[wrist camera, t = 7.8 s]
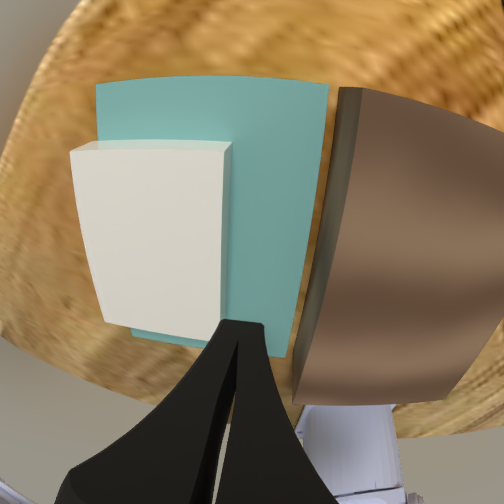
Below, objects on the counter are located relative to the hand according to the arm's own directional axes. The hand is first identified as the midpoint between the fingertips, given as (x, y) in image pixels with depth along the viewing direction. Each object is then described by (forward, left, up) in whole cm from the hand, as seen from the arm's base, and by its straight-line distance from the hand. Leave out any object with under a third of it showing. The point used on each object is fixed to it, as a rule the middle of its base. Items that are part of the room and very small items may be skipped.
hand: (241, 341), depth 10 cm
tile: (0, +5, -4) cm, 6 cm away
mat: (0, +3, -7) cm, 7 cm away
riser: (0, -8, -7) cm, 10 cm away
